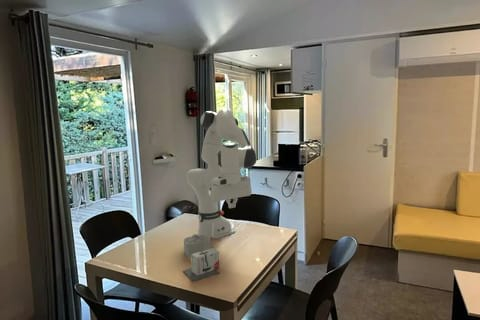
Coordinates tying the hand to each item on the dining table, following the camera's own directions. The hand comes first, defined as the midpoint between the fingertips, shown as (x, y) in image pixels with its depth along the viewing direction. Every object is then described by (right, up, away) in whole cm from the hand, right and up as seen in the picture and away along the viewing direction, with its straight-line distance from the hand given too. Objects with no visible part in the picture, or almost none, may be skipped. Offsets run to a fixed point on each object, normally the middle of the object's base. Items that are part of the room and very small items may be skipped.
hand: (232, 207), depth 158 cm
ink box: (-7, -23, -2) cm, 24 cm away
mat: (-14, -29, -5) cm, 32 cm away
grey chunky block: (-18, -26, +17) cm, 36 cm away
